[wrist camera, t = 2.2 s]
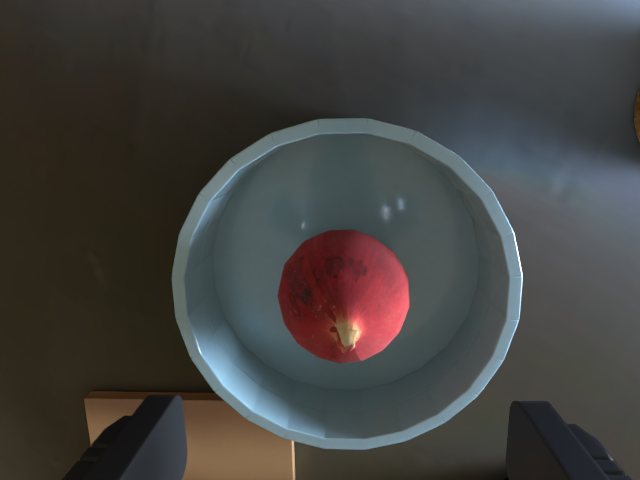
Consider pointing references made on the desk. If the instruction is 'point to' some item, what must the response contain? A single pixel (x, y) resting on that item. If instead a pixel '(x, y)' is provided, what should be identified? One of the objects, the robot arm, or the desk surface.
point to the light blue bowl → (369, 218)
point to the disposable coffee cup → (637, 115)
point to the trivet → (206, 436)
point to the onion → (343, 295)
